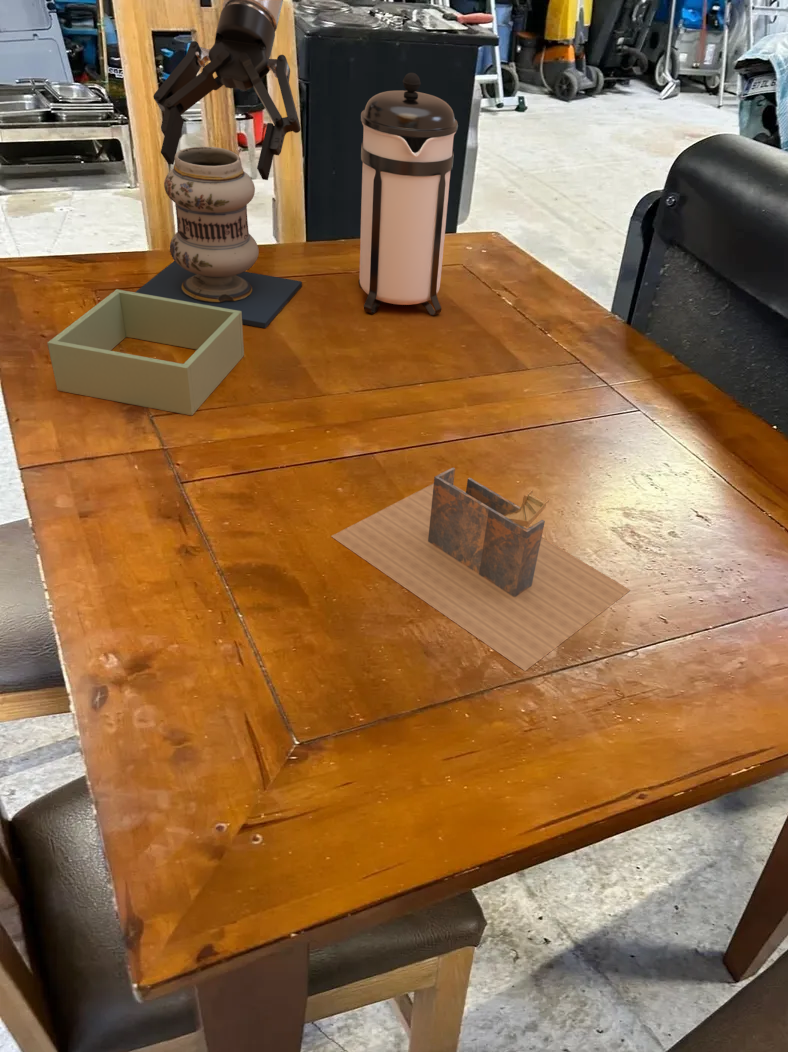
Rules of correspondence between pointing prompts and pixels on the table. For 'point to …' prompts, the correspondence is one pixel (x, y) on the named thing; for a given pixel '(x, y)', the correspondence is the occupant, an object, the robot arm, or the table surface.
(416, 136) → the coffee press
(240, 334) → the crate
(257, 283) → the mat
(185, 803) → the table surface
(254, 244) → the apothecary jar
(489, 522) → the architectural model on board
